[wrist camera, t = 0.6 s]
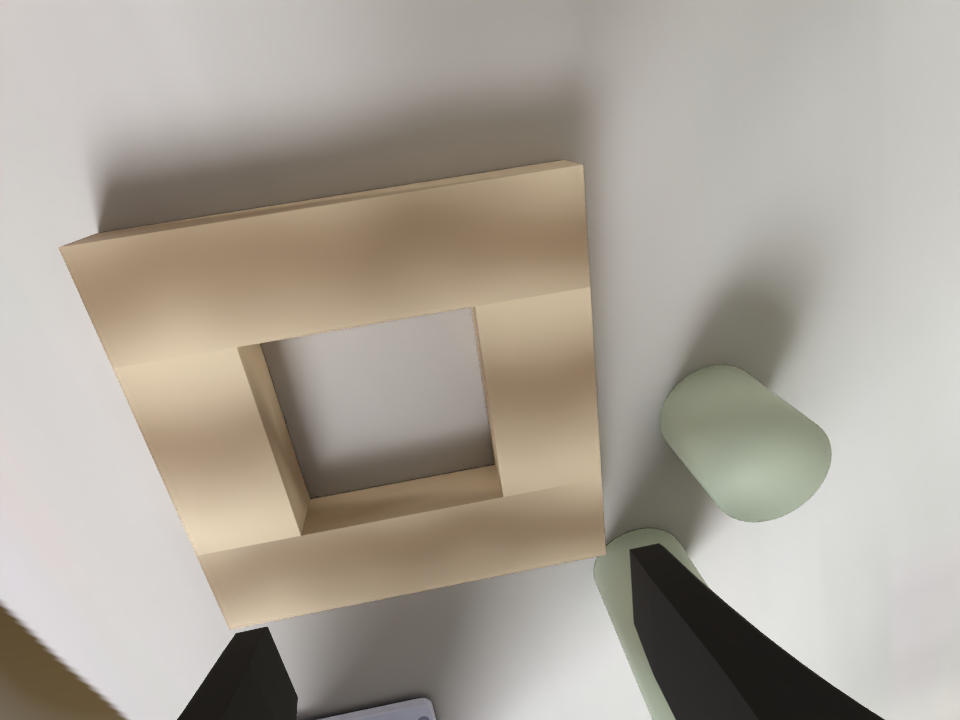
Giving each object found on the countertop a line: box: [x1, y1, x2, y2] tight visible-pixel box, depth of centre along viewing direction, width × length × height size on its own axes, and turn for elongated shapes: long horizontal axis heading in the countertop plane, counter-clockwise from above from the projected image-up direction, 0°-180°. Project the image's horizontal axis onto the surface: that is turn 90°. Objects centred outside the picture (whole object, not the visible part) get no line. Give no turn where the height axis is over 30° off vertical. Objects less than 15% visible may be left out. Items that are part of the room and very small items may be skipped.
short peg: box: [660, 365, 831, 522], centre depth 20 cm, size 4×4×4 cm
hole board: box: [59, 160, 606, 630], centre depth 19 cm, size 14×14×2 cm
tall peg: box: [594, 528, 709, 720], centre depth 21 cm, size 4×4×8 cm
